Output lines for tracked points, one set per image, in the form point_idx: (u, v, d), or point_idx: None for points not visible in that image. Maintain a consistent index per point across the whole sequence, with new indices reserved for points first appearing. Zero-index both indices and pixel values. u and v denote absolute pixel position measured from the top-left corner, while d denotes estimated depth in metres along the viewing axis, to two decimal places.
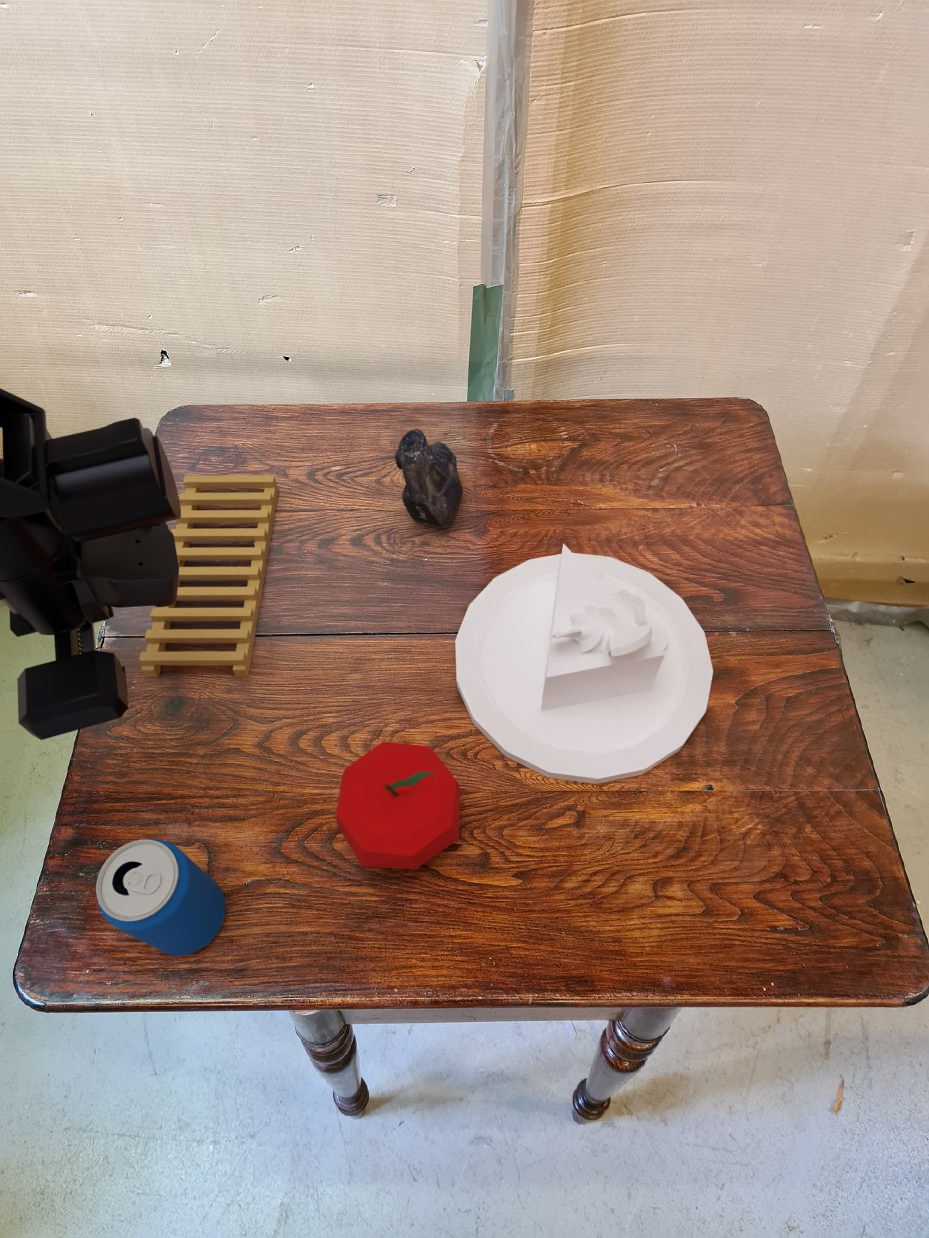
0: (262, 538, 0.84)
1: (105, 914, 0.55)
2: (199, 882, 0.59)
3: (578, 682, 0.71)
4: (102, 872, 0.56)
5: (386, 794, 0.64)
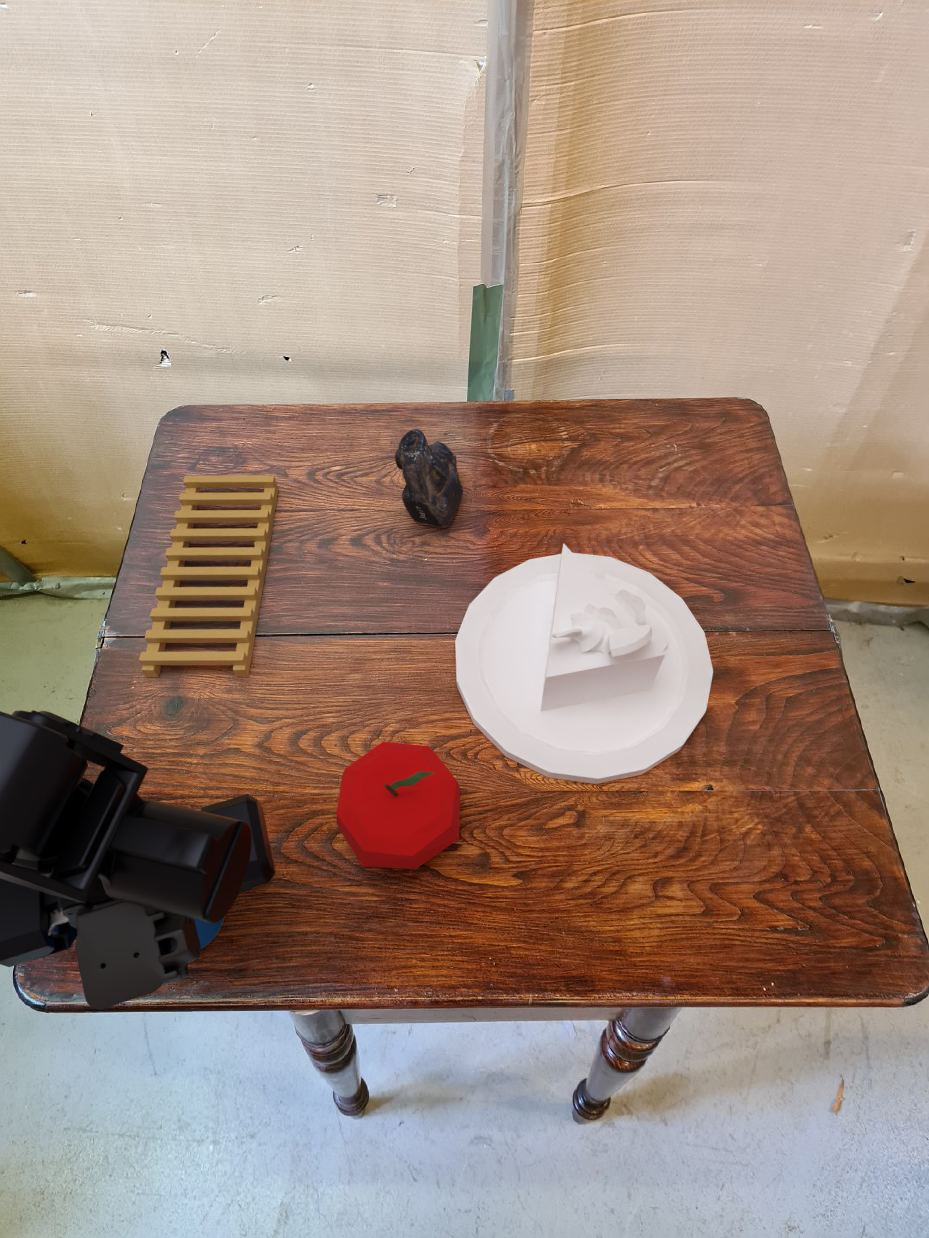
0: (262, 538, 0.84)
1: None
2: None
3: (578, 682, 0.71)
4: None
5: (387, 794, 0.64)
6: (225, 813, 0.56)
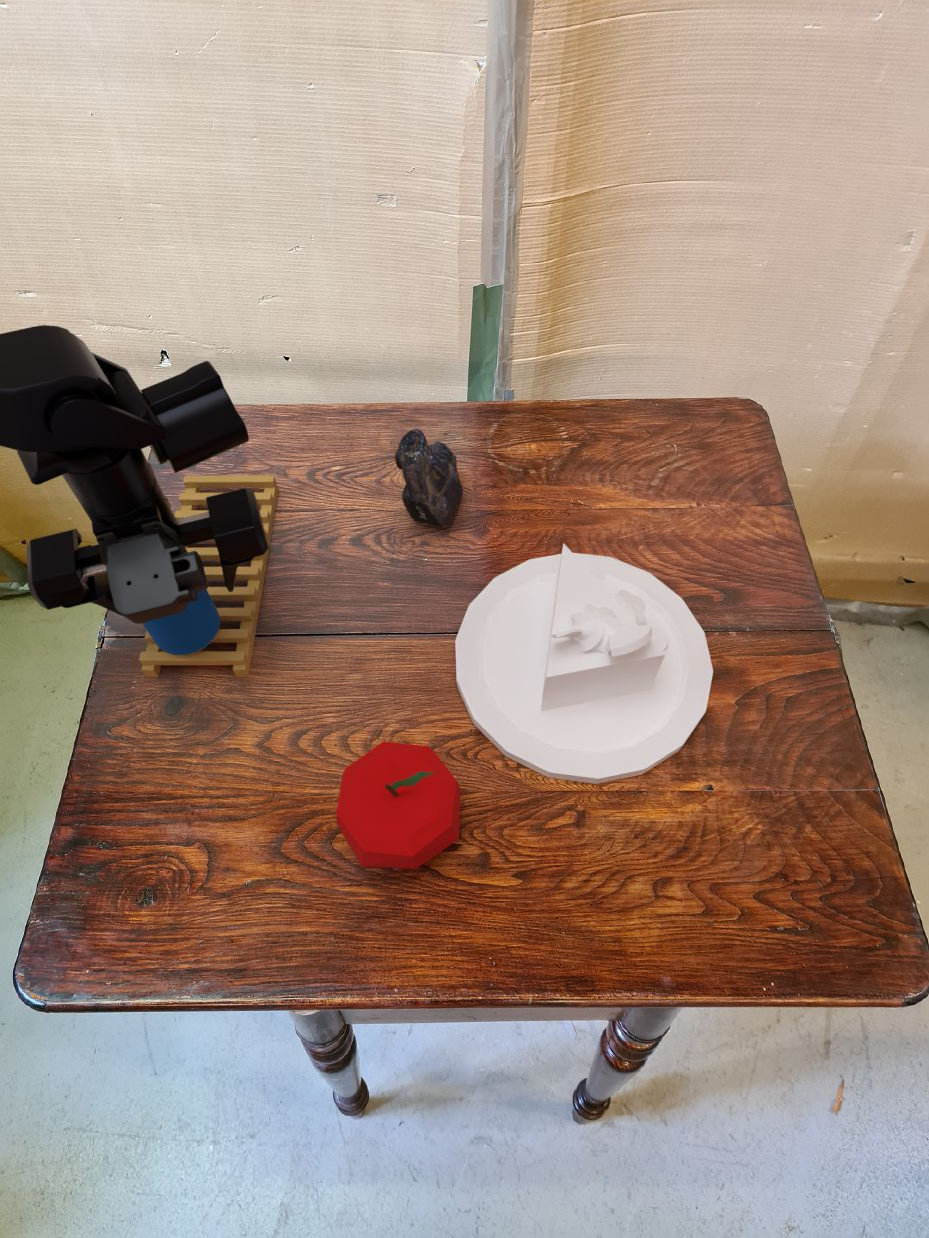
0: None
1: None
2: None
3: (578, 682, 0.71)
4: None
5: (387, 794, 0.64)
6: (227, 496, 0.67)
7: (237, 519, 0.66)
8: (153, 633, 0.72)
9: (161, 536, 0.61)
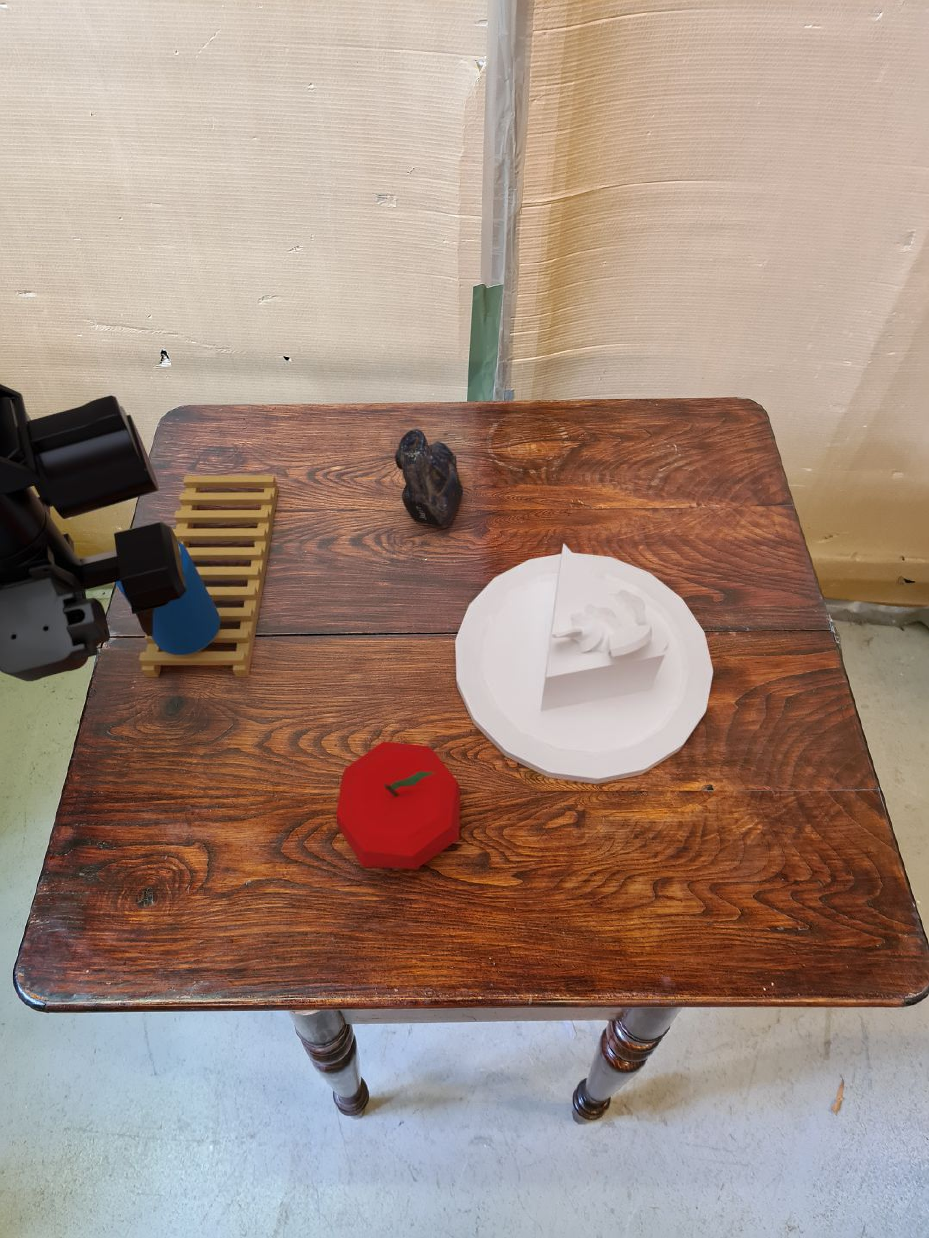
0: (262, 538, 0.84)
1: (120, 584, 0.67)
2: (197, 576, 0.71)
3: (578, 682, 0.71)
4: None
5: (387, 794, 0.64)
6: (138, 532, 0.59)
7: (148, 559, 0.57)
8: (153, 633, 0.72)
9: (54, 581, 0.53)
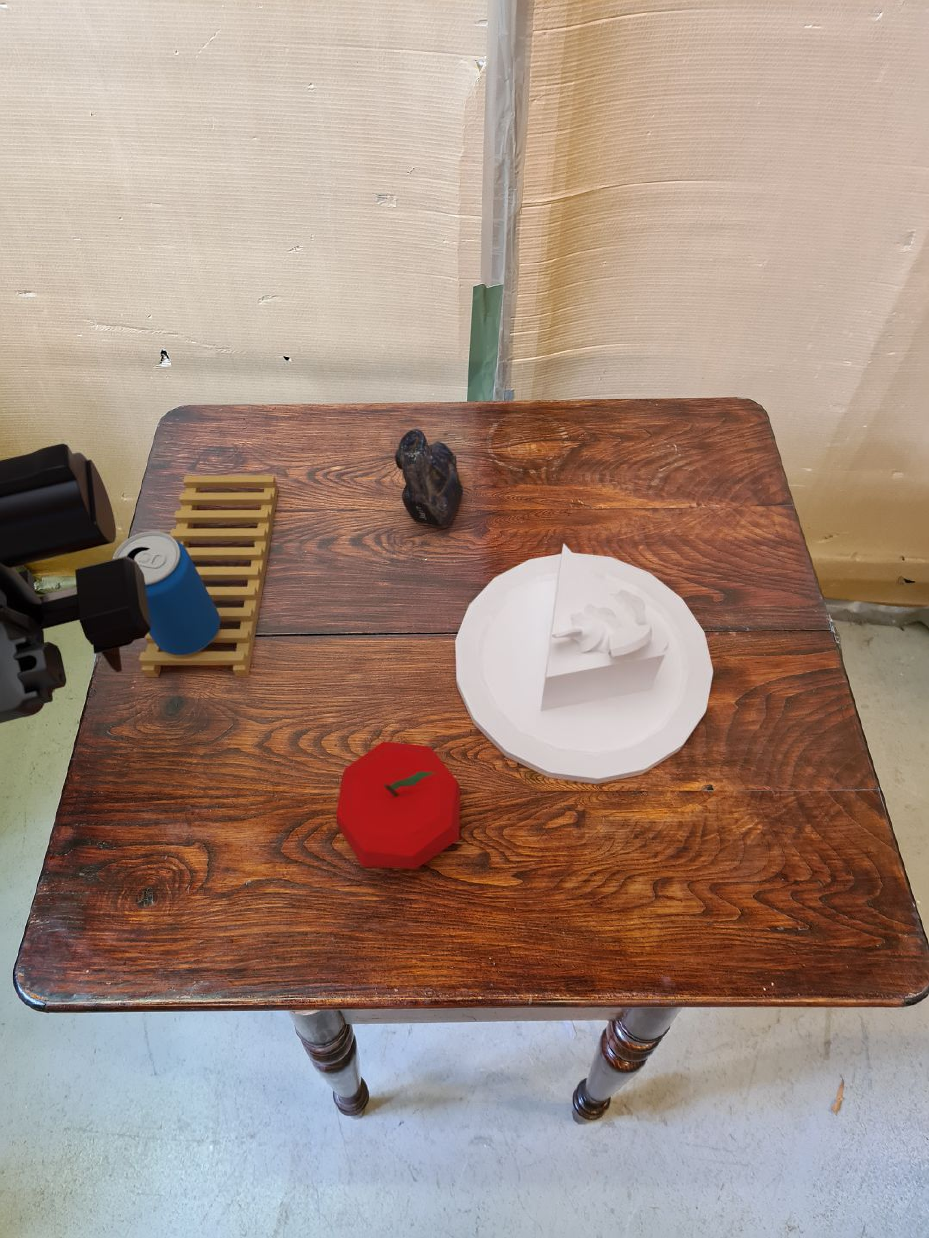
0: (262, 538, 0.84)
1: None
2: (197, 576, 0.71)
3: (578, 682, 0.71)
4: (117, 553, 0.68)
5: (387, 794, 0.64)
6: (101, 568, 0.56)
7: (109, 597, 0.55)
8: (153, 633, 0.72)
9: (6, 624, 0.51)
